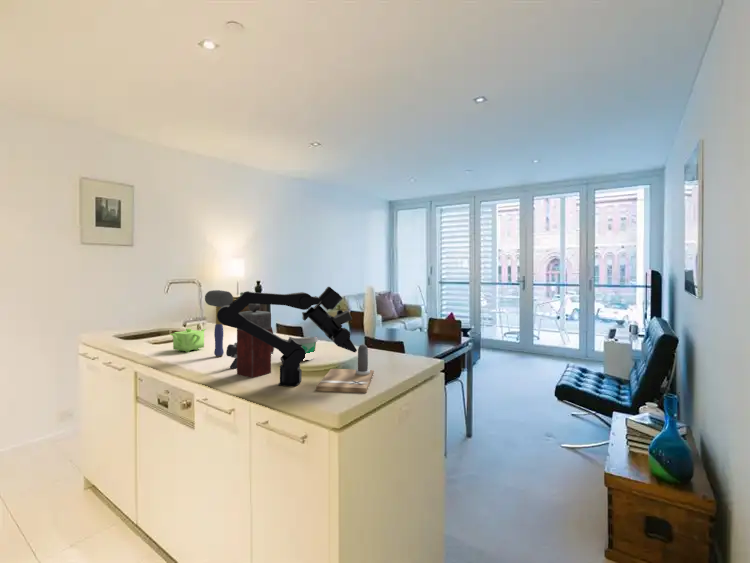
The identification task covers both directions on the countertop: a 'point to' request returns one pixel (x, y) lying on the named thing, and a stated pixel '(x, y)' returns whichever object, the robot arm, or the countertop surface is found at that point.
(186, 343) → the teapot
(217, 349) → the rubber mallet
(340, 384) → the board
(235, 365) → the gun
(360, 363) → the grey domed cylinder
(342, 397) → the countertop surface
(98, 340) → the countertop surface
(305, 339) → the food container
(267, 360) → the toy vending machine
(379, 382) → the countertop surface
